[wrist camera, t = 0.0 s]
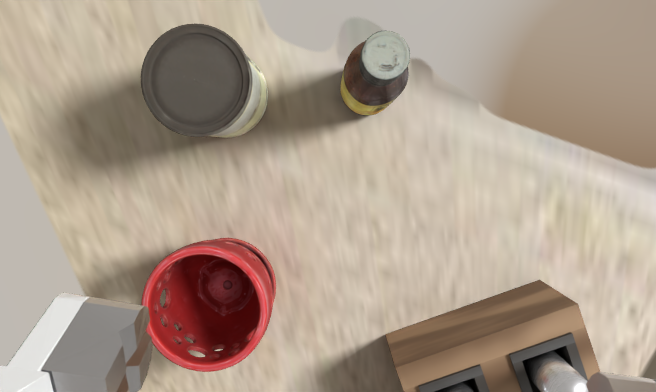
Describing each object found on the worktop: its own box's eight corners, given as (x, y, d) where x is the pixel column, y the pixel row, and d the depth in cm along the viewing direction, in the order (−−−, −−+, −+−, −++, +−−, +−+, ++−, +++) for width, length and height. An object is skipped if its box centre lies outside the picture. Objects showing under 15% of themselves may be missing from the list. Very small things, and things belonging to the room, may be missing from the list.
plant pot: (276, 224, 64) (263, 242, 52) (283, 330, 66) (273, 370, 54) (169, 231, 65) (132, 250, 53) (178, 336, 66) (144, 377, 54)
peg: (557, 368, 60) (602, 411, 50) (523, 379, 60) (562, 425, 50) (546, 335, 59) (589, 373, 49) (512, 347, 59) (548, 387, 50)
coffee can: (184, 139, 64) (142, 137, 50) (180, 51, 63) (137, 24, 49) (270, 138, 63) (253, 135, 49) (268, 50, 63) (250, 22, 49)
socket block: (569, 369, 66) (614, 410, 56) (417, 421, 67) (433, 472, 56) (539, 279, 65) (579, 305, 55) (385, 334, 66) (395, 369, 55)
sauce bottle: (377, 125, 63) (398, 115, 43) (330, 100, 63) (330, 79, 43) (403, 76, 63) (437, 43, 43) (356, 50, 62) (369, 6, 43)
